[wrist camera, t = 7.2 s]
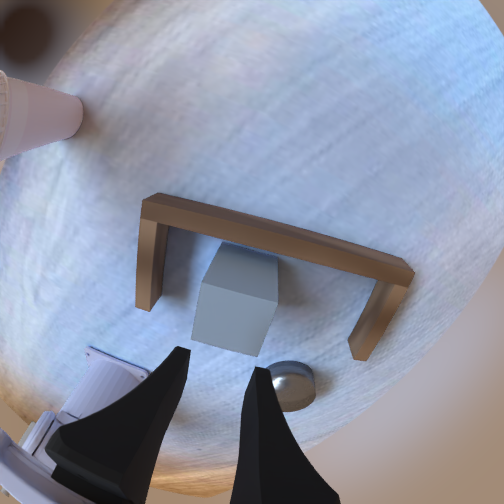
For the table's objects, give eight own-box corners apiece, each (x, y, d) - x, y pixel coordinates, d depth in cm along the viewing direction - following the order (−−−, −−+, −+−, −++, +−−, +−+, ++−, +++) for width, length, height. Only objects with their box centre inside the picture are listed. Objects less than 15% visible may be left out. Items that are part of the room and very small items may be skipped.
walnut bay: (359, 341, 21) (365, 361, 19) (148, 290, 21) (135, 307, 19) (401, 258, 18) (415, 272, 16) (158, 192, 18) (142, 199, 16)
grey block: (262, 303, 21) (257, 357, 15) (211, 289, 21) (190, 339, 15) (277, 256, 19) (278, 302, 14) (222, 241, 19) (201, 282, 14)
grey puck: (302, 395, 25) (303, 414, 23) (255, 388, 25) (253, 407, 22) (321, 364, 23) (324, 384, 21) (269, 354, 23) (268, 375, 21)
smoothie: (61, 73, 14) (-73, 66, 2) (109, 91, 15) (-57, 78, 2) (36, 140, 17) (-92, 171, 4) (78, 166, 18) (-73, 218, 5)
